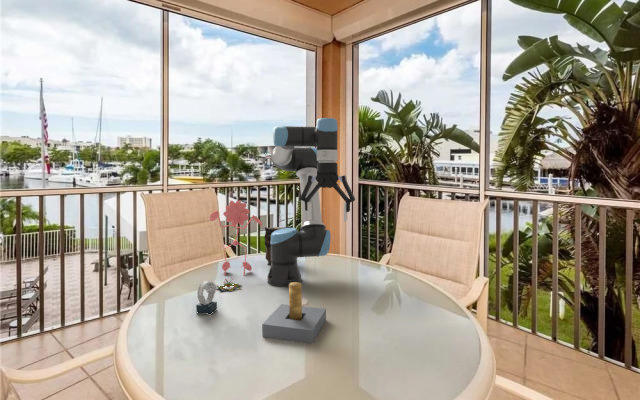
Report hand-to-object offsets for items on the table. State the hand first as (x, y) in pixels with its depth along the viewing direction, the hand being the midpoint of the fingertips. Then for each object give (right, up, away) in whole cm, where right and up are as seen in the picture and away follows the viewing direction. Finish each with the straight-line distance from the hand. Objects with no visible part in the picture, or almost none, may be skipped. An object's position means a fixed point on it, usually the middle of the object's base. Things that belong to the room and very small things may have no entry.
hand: (327, 220), depth 131 cm
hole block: (-11, -34, -16) cm, 39 cm away
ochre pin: (-11, -33, -16) cm, 39 cm away
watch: (-43, -33, -3) cm, 54 cm away
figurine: (-43, -28, +44) cm, 67 cm away
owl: (-23, -26, +57) cm, 67 cm away
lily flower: (-42, -31, +21) cm, 56 cm away
